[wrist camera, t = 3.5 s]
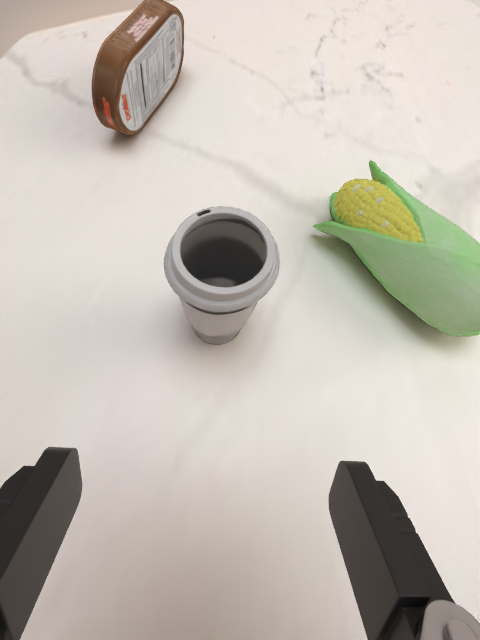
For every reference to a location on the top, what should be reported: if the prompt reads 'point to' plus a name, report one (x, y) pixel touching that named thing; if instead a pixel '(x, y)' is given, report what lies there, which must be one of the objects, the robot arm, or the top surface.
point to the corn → (411, 251)
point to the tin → (138, 66)
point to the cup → (221, 269)
